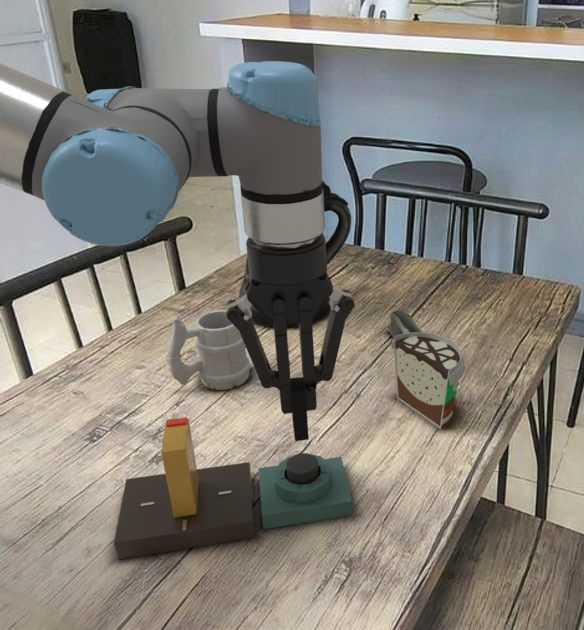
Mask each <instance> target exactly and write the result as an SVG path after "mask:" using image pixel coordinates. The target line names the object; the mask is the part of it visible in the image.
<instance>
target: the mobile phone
mask: <svg viewBox="0 0 584 630" xmlns="http://www.w3.org/2000/svg"><path fill="white" fill-rule="evenodd" d="M389 321H390V322H389V323H390V324H389V325H390V326H389V325H386V326H385V330H386V331H387V332H388V333H389V334H390V335H391V336H392V337H393V338H394V336H397V335H400V334H405V333H414V332H423V330H422V329H421V328H420V327H419V326H418V325H417V323H416V322H415V320H414V318H413V317H412V316H411V315H410V314H409V313H407V312H404V311H403V310H396V311H392V312H391V314H390V318H389Z"/></svg>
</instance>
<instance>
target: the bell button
mask: <svg viewBox="0 0 584 630" xmlns="http://www.w3.org/2000/svg"><path fill="white" fill-rule="evenodd" d="M293 455H294V456H293ZM293 455H291V456H292V457H291V456H289V457H290V458H289V457H288V458H289V459H288V458H287V459H288V461H287V463H286V468H287V478H288V480H289V481H290V482H292V483H294V484H298V485H303V484H309V483H311V482H313V481H315V480H316V478H317V477H318V474H319V471H318V460H317V458H316V457H315V456H314V455H315V454H311V453H308V452H299V453H296V454H293Z"/></svg>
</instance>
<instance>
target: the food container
mask: <svg viewBox="0 0 584 630" xmlns="http://www.w3.org/2000/svg"><path fill="white" fill-rule="evenodd" d="M391 349H393V351H394V352H393V353H394V368H395V383H396V397H397V400H398V401H399V402H401V403H402V404H404V405H406V406H407V407H409V408H410V409H412V410H413V411H414V412H415V413H417V414H418V415H420V416H421V417H422V418H424V419H425V420H427V421H429V422H430V423H431V424H433V425H434V426H436V427H437V428H438V429H440V430H443V428H445V427H446V426H448V425H449V423H450V422H451V421H452V419H453V415H454V408H455V402H456V397H457V392H458V391H457V390H458V385H459V381H460V380H461V378H462V377H463V376H464V373H465V371H466V364H465V358H464V355H463V352H462V350H461V348H460V346H459V345H458V344H457V343H456V342H455V341H453V340H452V339H450V338H448V337H445V336H443V335H440V334H437V333H431V332H424V331H422V332H414V333H405V334H400V335H397V336H394V337H393V339H392V341H391Z"/></svg>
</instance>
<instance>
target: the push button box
mask: <svg viewBox="0 0 584 630" xmlns="http://www.w3.org/2000/svg"><path fill="white" fill-rule="evenodd" d="M294 455H295V454H293V455H291V456H289V457H287V458H286V459H284V460H281V461H280V462H279V463H278V465H272V466H264V467H259V468H258V479H259V480H258V481H259V482H258V483H259V497H260V498H259V499H260V512H261V513H260V514H261V525H262V529H263V530H269V529H275V528H281V527H287V526H295V525H299V524H300V525H301V524H306V523H312V522H319V521H326V520H332V519H338V518H342V517H343V518H344V517H350V516H352V515H353V510H352V509H353V507H352V497H351V493H350V489H349V484H348V480H347V475H346V471H345V467H344V462H343V458H342V456H336V457H329V458H323V457H322V456H321V455H316V454H313V455H314V456H315V457H316V458H317V460H318V471H319V474H318V477H317V478H316V480H315V481H313V482H311V483H309V484H303V485H298V484H294V483H292V482H290V481H289V480H288V478H287V468H286V463H287V461H288V459H289V458H290V457H292V456H294Z"/></svg>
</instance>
